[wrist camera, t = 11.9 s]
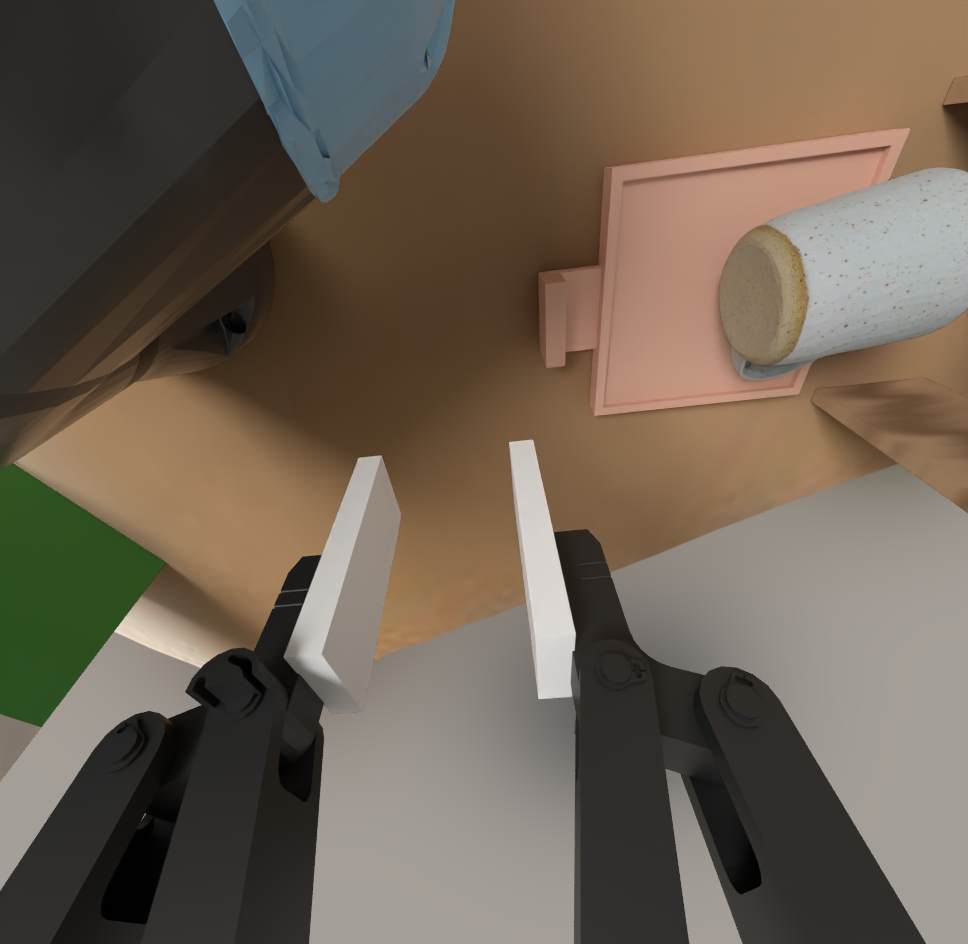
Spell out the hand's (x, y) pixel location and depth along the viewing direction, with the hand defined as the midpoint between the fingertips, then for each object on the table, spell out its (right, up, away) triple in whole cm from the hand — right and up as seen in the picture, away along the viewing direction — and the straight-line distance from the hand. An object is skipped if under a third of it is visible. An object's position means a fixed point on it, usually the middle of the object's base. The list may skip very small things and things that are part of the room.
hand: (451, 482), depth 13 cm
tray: (+14, +12, +12) cm, 22 cm away
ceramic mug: (+16, +12, +10) cm, 23 cm away
